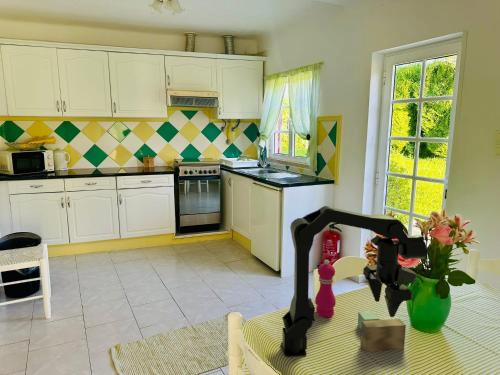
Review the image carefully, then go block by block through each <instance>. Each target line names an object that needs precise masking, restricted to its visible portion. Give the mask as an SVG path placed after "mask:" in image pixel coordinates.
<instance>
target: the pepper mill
mask: <svg viewBox="0 0 500 375" xmlns="http://www.w3.org/2000/svg"><path fill="white" fill-rule="evenodd" d="M317 274H318V276H319V277H318V281H319V288H318V289H319V290H318V291H317V293H316V296H315V297H314V298H315V299H314V302H315V305H316V307H315V312H316V314H317V315H318V316H319V317H323V318H331V317H333V316H334V315H335V309H334V307H335V306H336V297H335V294H334V291H333V286H332V285H333V283H334V277H335V275H336V270H335V267H334V265H332V264H331V263H330V261H329V259H325V260H324V261H323V263H321V264H320V265H319V266H318V268H317Z"/></svg>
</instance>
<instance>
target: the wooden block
mask: <svg viewBox="0 0 500 375" xmlns="http://www.w3.org/2000/svg"><path fill="white" fill-rule="evenodd" d="M406 328H407V325H406V324H405V323H404V322H403V320H401V319H400V318H394V319H393V318H391V319H380V320H371V321H362V330H361V329H360V333H361V335H360V346H361V348H362V349H363V351H364V352H365V353H371V352H372V353H373V352H389V351H402V350H405V345H406V344H405V342H406V341H405V340H406Z"/></svg>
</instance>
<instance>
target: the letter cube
mask: <svg viewBox="0 0 500 375" xmlns="http://www.w3.org/2000/svg"><path fill="white" fill-rule="evenodd" d="M357 313H358V314H357V326H358V328H359V329H360V331H361V330H362V321H371V320H381V319H380V317H379V316H377V314H376V313H375V312H374V310H368V311H367V310H365V311H358V312H357Z"/></svg>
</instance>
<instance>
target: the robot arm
mask: <svg viewBox="0 0 500 375" xmlns="http://www.w3.org/2000/svg"><path fill="white" fill-rule="evenodd" d="M331 223H333V224H339V225H344V226H349V227H351V228H352V227H353V228H358V229H364V230H368V231H371V232H374V233H376V235H375V236H374V237H373V238H371V239H370V242H371V243H372V244H373V245H374V246H377V253H376V259H373V263H374V265H365V267H364V268H363V270H362V271H363V272H362V274H363V276H364V278H365V281H366V282H367V285H368V287H369V288H370V289H369V290H370V292H371V294H372V297H373V299H374V301H375V302H376V303H378V302H380V300H381V294H382V288H383V285H385V286H386V287H385V288H384V293H385V294H384V300H385V304H386V308H387V311H388V314H389V317H390V318H394V317H395V316H396V314H397V311H398V310H399V308H400V306H401V305H402V303H403V302H408V301H412V300H413V294H414V293H413V291H412V290H411V289H410V288H408V287H407V286H406V285H405V284H402V281H403V282H407V283H409V284H411V285H414V283H415V281H416V278H417V276H418V274H417V273H416V272H415V271H413V270H412V269H410V268H409V267H407V268H405V267H402V266H401V265H400V264H399V263H398V261H399V256H400V257H401V258H402V259H404V260H414V259H415V260H419V259H420V260H422V259H423V260H424V259H426V257H427V255H428V252H429V251H428V249H427V248H428V247H427V244H426V241H425V237H424V236H423V235H421V234H414V235H407V233H406V232H405V231H404V225H403V222H402V221H401V220H399V219H398V218H395V217H393V216H392V215H389V214H382V213H381V214H379V213H377V214H364V213H359V212H354V211H349V210H345V209H339V208H335V207H331V206H328V205H324V206H322V207H320V208H319V209H317V210H315V211H313V212H310V213H308V214H306V215H304V216H303V217H298V218H295V219H294V220H292V222H291V223H290V227H289V228H290V233H291V239H292V245H293V248H294V268H293V269H294V272H293V274H294V275H293V276H294V277H293V279H294V283H293V286H294V288H293V290H294V292H293V297H292V299H291V302H290V306H289V310H288V311H287V312H286V313H285V314H284V315H283V316H282V318H281V319H282V322H283V326H284V327H283V328H282V341H281V343H280V345H281V347H282V351H283V354H284V356H285V357H295V356H296V357H299V356H307V348H308V336H307V333H308V331H309V329H311V328H312V327H313V323H314V322H315V321H316V319H315V312H316V307H315V305H314V303H313V301H312V298H311V297H310V298H309V285H310V284H309V283H310V282H309V278H310V275H309V274H310V252H311V250H312V248H313V244H314V241H315V236H316V235H318V234H320V233H321V232H322V231H323V230H325V228H326V227H327V226H328V225H330V224H331ZM379 235H380V236H379ZM381 236H382V237H381ZM396 283H401V284H396Z"/></svg>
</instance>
